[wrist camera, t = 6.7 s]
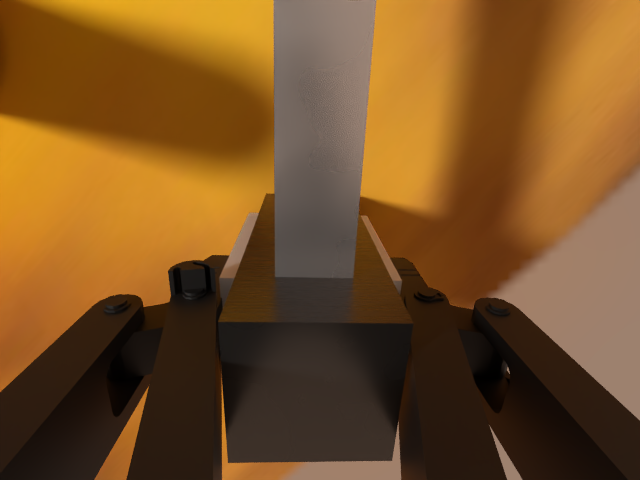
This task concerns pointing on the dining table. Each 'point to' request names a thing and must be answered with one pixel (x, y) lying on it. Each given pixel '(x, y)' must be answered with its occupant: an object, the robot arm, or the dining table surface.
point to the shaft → (315, 265)
